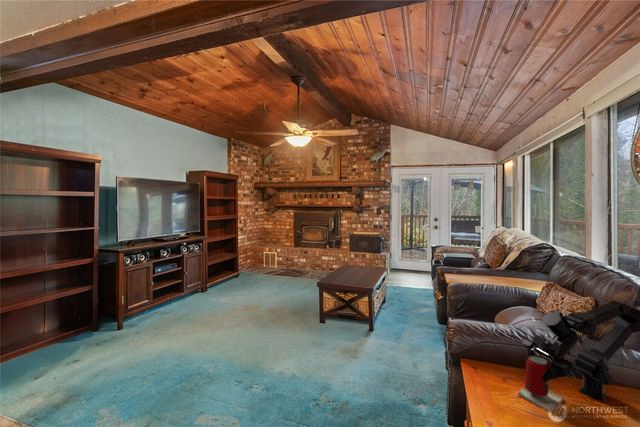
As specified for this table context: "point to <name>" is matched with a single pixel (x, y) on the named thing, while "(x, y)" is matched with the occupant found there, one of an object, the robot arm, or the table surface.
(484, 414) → the table surface
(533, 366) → the beverage can
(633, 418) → the table surface
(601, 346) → the robot arm
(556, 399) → the birch board
